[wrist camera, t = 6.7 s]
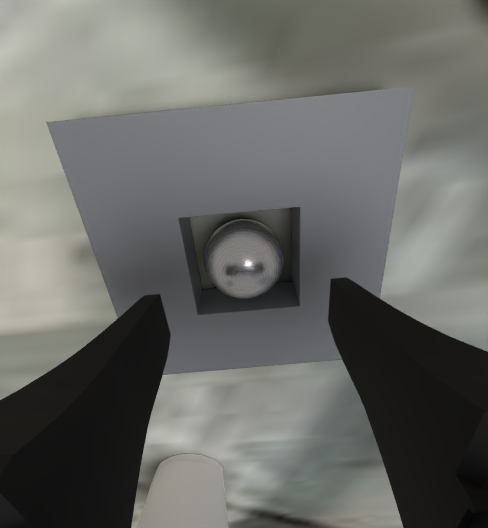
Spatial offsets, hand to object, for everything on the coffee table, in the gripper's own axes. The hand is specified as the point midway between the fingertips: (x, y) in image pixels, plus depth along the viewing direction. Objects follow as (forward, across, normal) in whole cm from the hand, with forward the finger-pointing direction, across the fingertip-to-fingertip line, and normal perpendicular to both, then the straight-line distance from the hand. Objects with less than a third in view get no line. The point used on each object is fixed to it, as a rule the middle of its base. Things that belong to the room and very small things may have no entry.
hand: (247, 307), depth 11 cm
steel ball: (+4, 0, 0) cm, 4 cm away
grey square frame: (+6, 0, 0) cm, 6 cm away
